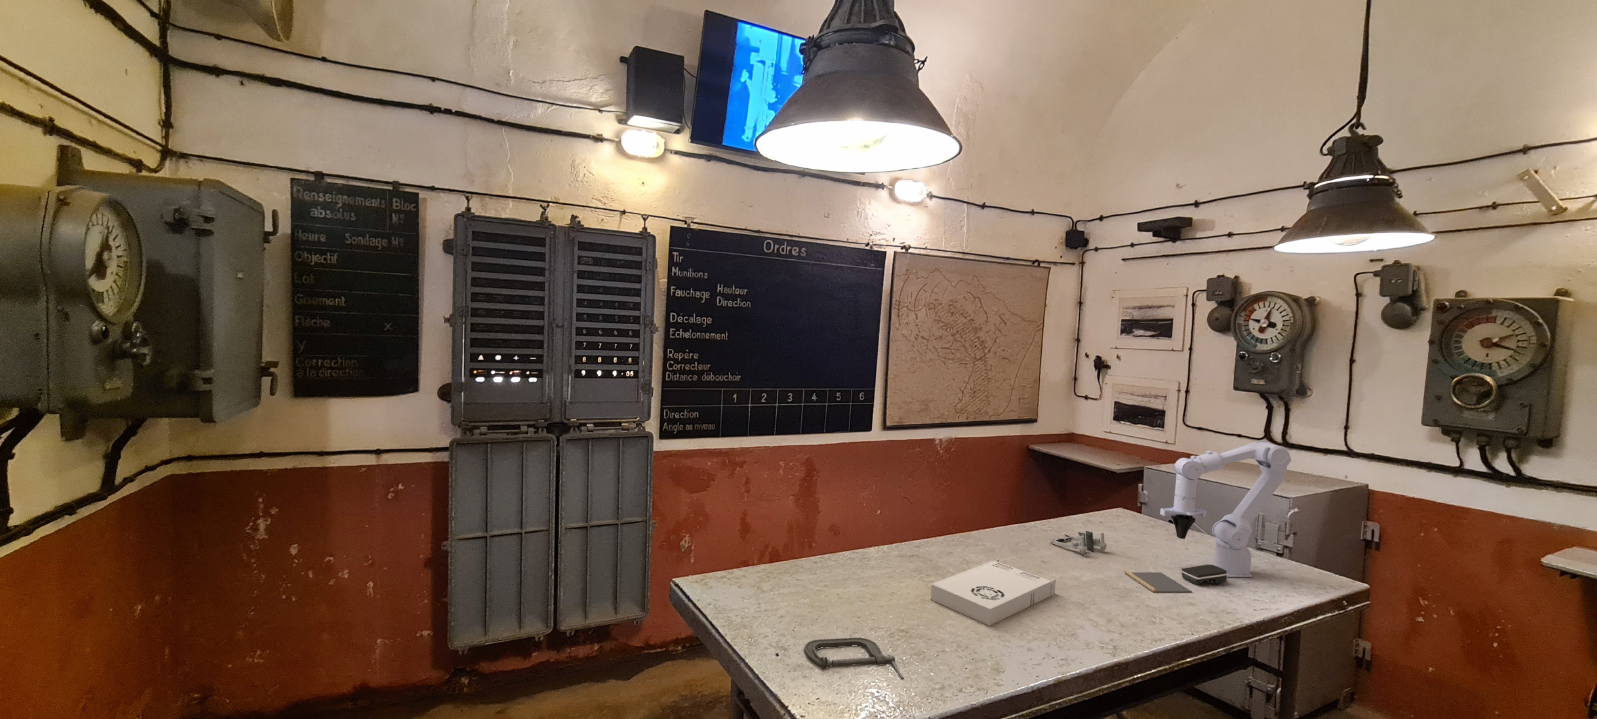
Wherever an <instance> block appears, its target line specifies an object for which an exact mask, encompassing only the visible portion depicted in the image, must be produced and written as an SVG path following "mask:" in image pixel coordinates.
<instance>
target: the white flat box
mask: <svg viewBox="0 0 1597 719" xmlns="http://www.w3.org/2000/svg"><path fill="white" fill-rule="evenodd" d="M1056 586H1057V585H1056V579H1051V580H1049V579H1047V578H1044V577H1041V576H1039V575H1035V574H1033V573H1031V572H1030V573H1029V572H1028V571H1026V570H1025V571H1024V570H1022V569H1019V568H1016V567H1013V566H1011V565H1008V564H1005V563H1002V562H1000V559H998V558H997V559H994V560H991V561H989V562H986V563H982V564H980V565H978V566H975V567H973V568H970V569H967V570H965V571H962V572H959V573H956V574H953V575H951V576H949V577H945V578H944V579H941V580H938V581H934V582H933V583H932V582H931V584H930V587H931V588H930V600H931V599H932V600H931V601H932V602H935V601H936V602H935V603H938V604H940V605H943V606H945V607H946V608H949V609H951V610H953V611H955V612H958V613H960V614H962V615H964V616H967V617H969V618H971V619H973V618H974V619H973V620H976V621H977V622H980V623H982V624H985V625H987V626H992V625H994V624H996V623H998V622H1000V621H1002V620H1004V619H1007V618H1008V617H1010V616H1012V615H1014V614H1016V613H1019V612H1020V611H1023V610H1024V609H1026V608H1030V607H1031V606H1033V605H1035V604H1037V603H1039V602H1041V601H1043V600H1046V599H1047V597H1048V598H1049V597H1051V595H1052V596H1054V595H1055V594H1056ZM987 587H988V588H987ZM989 587H990V588H989Z"/></svg>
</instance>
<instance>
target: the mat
mask: <svg viewBox="0 0 1597 719" xmlns="http://www.w3.org/2000/svg"><path fill="white" fill-rule="evenodd" d="M1124 574H1125V575H1127V576H1128V577H1129V578H1131V579H1132V580H1133V581H1135V582H1136V583H1138V584H1140V585H1141V586H1143V587H1144V588H1146V589H1147V590H1149V591H1151V592H1152V593H1153V594H1155V593H1158V594H1159V593H1160V594H1161V593H1163V594H1164V593H1165V594H1166V593H1170V594H1171V593H1176V594H1177V593H1179V594H1180V593H1187V594H1189V593H1193V591H1192V590H1190V589H1189V588H1187V587H1186V586H1184V585H1182V584H1180V583H1179V582H1177V581H1176V580H1174V579H1172V578H1171V577H1170V576H1168V575H1166V574H1164V573H1163V572H1162V571H1161V572H1159V571H1157V572H1155V571H1152V572H1151V571H1150V572H1149V571H1148V572H1144V571H1143V572H1141V571H1139V572H1138V571H1137V572H1136V571H1134V572H1131V571H1130V570H1124Z"/></svg>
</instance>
